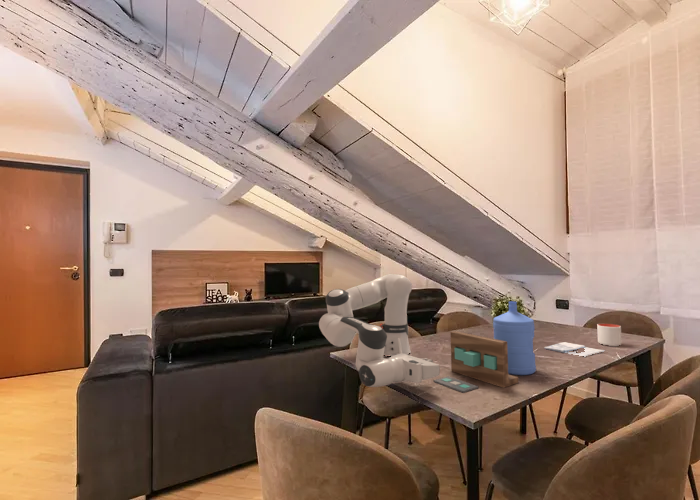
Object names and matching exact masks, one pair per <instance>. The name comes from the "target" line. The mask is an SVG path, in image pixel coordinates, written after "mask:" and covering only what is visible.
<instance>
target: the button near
mask: <svg viewBox="0 0 700 500" xmlns="http://www.w3.org/2000/svg"><path fill="white" fill-rule="evenodd" d="M484 367H486V368H490V369H493V370H496V369H497V356H493V355H489V354H486V355H484Z"/></svg>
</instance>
